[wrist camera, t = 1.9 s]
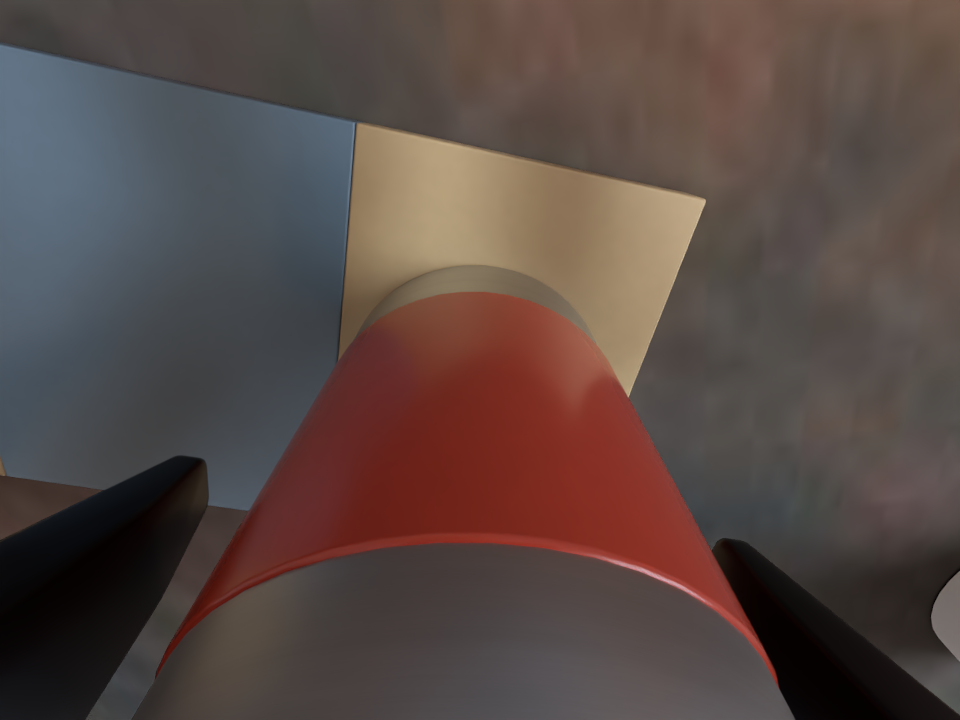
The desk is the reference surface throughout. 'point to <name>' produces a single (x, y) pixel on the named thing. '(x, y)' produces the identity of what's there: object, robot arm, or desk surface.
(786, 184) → the desk surface
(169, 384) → the board
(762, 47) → the desk surface
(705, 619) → the tin can
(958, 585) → the cylindrical container
